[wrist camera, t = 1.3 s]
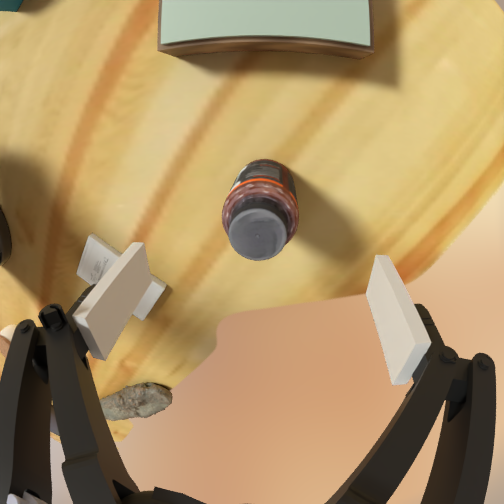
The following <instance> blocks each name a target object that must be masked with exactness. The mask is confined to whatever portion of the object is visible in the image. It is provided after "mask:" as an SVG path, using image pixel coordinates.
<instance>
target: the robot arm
mask: <svg viewBox="0 0 504 504" xmlns="http://www.w3.org/2000/svg"><path fill="white" fill-rule="evenodd" d="M10 254H11V238H10V233H9V229H8V226H7V223H6V220H5V217H4V215H3V213H2V211H1V209H0V266H1V265H2V264H3V263H5V262H6V261H7V260H8V259H9V257H10ZM151 283H152V279H151V274H150V269H149V265H148V260H147V255H146V250H145V245H144V243H139V242H133V243H132V244H131V245H130V246H129V247H128V248H127V249H126V251H125V252H124V253H123V254H122V255H121V256H120V257H119V259H118V260H117V261H116V262H115V263H114V264H113V265H112V267H111V268H110V269H109V270H108V271H107V273H106V274H105V275H104V276H103V277H102V279H101V280H100V281H99V282H98V283H97V284H93V285H91V286H90V287H88V288H87V289H86V290H85V291H84V292H83V294H82V295H81V296H80V297H79V298H78V300H77V301H76V302H75V303H74V305H73V306H72V307H71V308H70V310H69V311H68V312H67V314H66V315H65V314H64V312H63V309H62V307H61V306H60V305H59V304H50V305H48V306H45V307H44V308H43V309H42V310H41V311H40V313H39V316H38V317H39V319H40V321H41V323H42V325H43V327H36V325H35V323H34V321H33V320H31V319H27V320H24V321H22V322H20V323H19V324H18V325H17V326H16V328H15V331H14V334H13V337H12V340H11V343H10V346H9V350H8V353H7V357H6V360H5V364H4V368H3V372H2V376H1V380H0V504H52V482H51V465H50V420H51V403H52V401H53V407H54V412H55V417H56V422H57V427H58V431H59V436H60V440H61V444H62V447H63V451H64V455H65V462H63V463H62V471H63V475H64V478H65V481H66V484H67V487H68V490H69V493H70V496H71V499H72V501H73V504H206V503H203V502H201V501H198V500H196V499H194V498H192V497H189V496H187V495H185V494H183V493H178V492H174V491H170V490H166V489H162V488H158V487H155V488H154V491H143V492H140V491H139V489H138V487H137V486H136V484H135V483H134V481H133V480H132V479H131V477H130V476H129V474H128V473H127V471H126V468H125V466H124V464H123V462H122V459H121V457H120V455H119V452H118V450H117V448H116V445H115V443H114V440H113V438H112V435H111V433H110V430H109V427H108V424H107V422H106V419H105V416H104V413H103V410H102V407H101V404H100V401H99V398H98V394H97V391H96V388H95V384H94V381H93V377H92V373H91V370H90V366H89V362H88V359H87V357H86V353H87V351H88V350H89V351H90V353H91V355H92V356H93V358H97V359H100V360H104V361H106V359H107V357H108V355H109V353H110V352H111V350H112V348H113V346H114V344H115V343H116V341H117V339H118V337H119V336H120V334H121V332H122V331H123V329H124V327H125V325H126V324H127V322H128V320H129V319H130V317H131V315H132V314H133V312H134V310H135V309H136V307H137V305H138V304H139V302H140V300H141V299H142V297H143V295H144V294H145V292H146V291H147V289H148V287H149V286H150V284H151ZM366 297H367V300H368V303H369V306H370V309H371V312H372V316H373V318H374V322H375V325H376V328H377V332H378V335H379V338H380V341H381V345H382V349H383V352H384V356H385V360H386V363H387V367H388V371H389V375H390V379H391V383H392V385H401V384H407V383H408V381H409V379H410V378H411V377H413V380H414V384H413V385H412V387H411V388H410V390H409V391H408V393H407V394H406V397H405V399H404V401H403V402H402V404H401V406H400V407H399V409H398V411H397V412H396V414H395V415H394V417H393V418H392V420H391V422H390V423H389V425H388V426H387V428H386V429H385V431H384V432H383V433H382V435H381V436H380V438H379V439H378V441H377V442H376V443H375V445H374V446H373V447H372V449H371V450H370V452H369V453H368V454H367V455H366V457H365V458H364V459H363V461H362V462H361V463H360V464H359V466H358V467H357V468H356V469H355V471H354V472H353V473H352V474H351V475H350V477H349V478H348V479H347V480H346V482H345V483H344V484H343V485H342V486H341V487H340V488H339V489H338V491H337V492H336V493H335V494H334V495H333V496H332V497H331V498H330V499H329V500H328V501H327V502H326V503H325V504H386V503H387V501H388V500H389V499H390V497H391V496H392V494H393V493H394V491H395V490H396V489H397V487H398V486H399V484H400V483H401V481H402V479H403V478H404V476H405V475H406V473H407V472H408V470H409V469H410V467H411V465H412V464H413V462H414V460H415V458H416V457H417V455H418V453H419V451H420V450H421V448H422V446H423V444H424V442H425V440H426V439H427V437H428V435H429V433H430V430H431V429H432V427H433V425H434V423H435V420H436V418H437V416H438V414H439V412H440V410H441V407H442V405H443V403H444V401H445V400H446V404H445V411H444V417H443V422H442V428H441V433H440V438H439V442H438V447H437V451H436V455H435V459H434V463H433V467H432V470H431V473H430V477H429V480H428V483H427V487H426V489H425V493H424V495H423V499H422V501H421V504H484V500H485V495H486V491H487V486H488V481H489V476H490V470H491V463H492V456H493V446H494V437H495V421H496V375H495V365H494V362H493V360H492V358H490V357H489V356H488V355H487V354H484V353H478V354H476V355H475V356H474V357H473V359H472V360H468V359H463V358H459V357H458V354H457V353H456V352H455V351H454V350H453V349H452V348H450V347H448V346H445V345H444V343H443V340H442V338H441V336H440V334H439V332H438V330H437V328H436V326H435V324H434V322H433V320H432V318H431V316H430V314H429V312H428V310H427V309H426V308H425V307H424V306H423V305H422V304H414V303H413V301H412V300H411V297H410V295H409V294H408V292H407V289H406V288H405V286H404V284H403V282H402V280H401V278H400V276H399V274H398V272H397V270H396V269H395V267H394V265H393V263H392V261H391V260H390V258H389V256H388V255H376V257H375V261H374V265H373V269H372V273H371V277H370V280H369V284H368V288H367V291H366Z"/></svg>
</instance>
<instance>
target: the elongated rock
mask: <svg viewBox="0 0 504 504" xmlns="http://www.w3.org/2000/svg"><path fill="white" fill-rule="evenodd" d="M171 403H172V393H171V392H170V391H169V390H167V389H166V388H163V387H161V386H159V385H156V384H154V383H146V384H144V383H141V384H136V385H134V386H126V388H123V390H121V391H119V392H116V393H115V394H113V395H111V396H107V397H106V398H102V399H101V400H100V404H101V407H102V410H103V413H104V416H105V419H108V420H111V421H117V420H124V419H128V418H134V417H144V418H147V417H149V416H151V415H153V414H156V413H157V412H160V411H162V410H165V408H166V407H168V405H170V404H171Z"/></svg>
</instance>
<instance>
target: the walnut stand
mask: <svg viewBox="0 0 504 504" xmlns="http://www.w3.org/2000/svg"><path fill="white" fill-rule="evenodd" d="M158 51H160V52H163V53H166V54H169V55H172V56H174V57H176V56H184V55H192V54H202V53H214V52H230V51H288V52H304V53H316V54H326V55H334V56H342V57H349V58H355V59H362V58H364V57H366V56H368V55H371V54H373V53H374V25H373V6H372V0H159V14H158Z"/></svg>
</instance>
